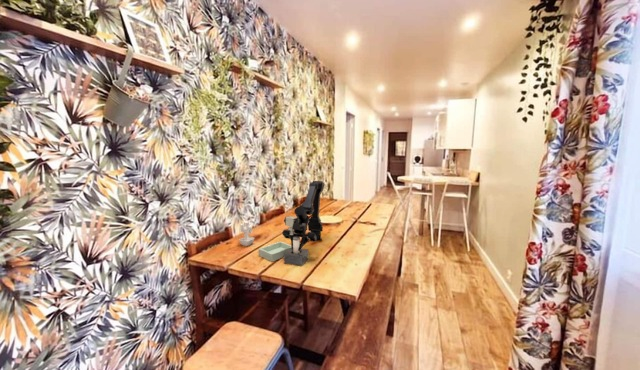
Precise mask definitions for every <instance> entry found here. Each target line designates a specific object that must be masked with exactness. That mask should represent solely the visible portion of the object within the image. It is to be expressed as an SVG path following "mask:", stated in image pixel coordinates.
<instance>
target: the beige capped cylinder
mask: <svg viewBox="0 0 640 370" xmlns="http://www.w3.org/2000/svg"><path fill="white" fill-rule="evenodd" d="M300 243H301V237H297V236H296V237H293V253H294V254H300V251H299V246H300Z"/></svg>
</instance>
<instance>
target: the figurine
mask: <svg viewBox="0 0 640 370" xmlns="http://www.w3.org/2000/svg"><path fill="white" fill-rule="evenodd" d="M240 232H241V234H242V233H244V235H243V236H244V237H242V238H239V239H238V241H239V243H240V244H241V246H245V247H249V246H250V245H252V244H253V242H254V241H255V239H256V238H255V237H252V236H250V234H253V226H252V225H251V224H250V222H249V221H247V220H244V221H243V223H240Z"/></svg>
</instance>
